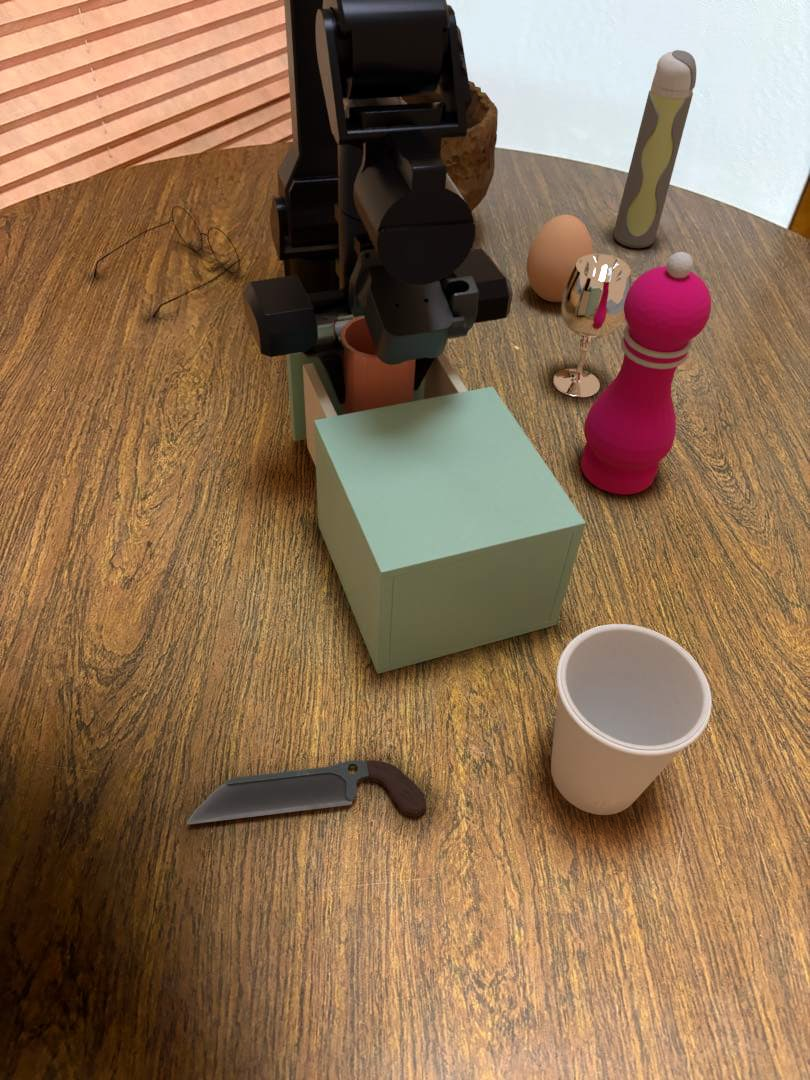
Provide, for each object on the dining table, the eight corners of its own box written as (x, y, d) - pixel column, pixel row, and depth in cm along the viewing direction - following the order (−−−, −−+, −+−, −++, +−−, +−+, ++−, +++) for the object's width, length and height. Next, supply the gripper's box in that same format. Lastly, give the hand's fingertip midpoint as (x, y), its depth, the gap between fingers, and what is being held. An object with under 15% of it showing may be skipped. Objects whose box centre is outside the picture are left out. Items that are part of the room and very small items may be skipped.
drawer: (277, 398, 76) (270, 312, 70) (408, 374, 80) (413, 290, 73) (336, 543, 65) (334, 456, 58) (487, 509, 68) (501, 422, 61)
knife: (416, 757, 54) (417, 751, 53) (427, 817, 51) (428, 812, 51) (188, 783, 52) (186, 778, 51) (187, 847, 49) (185, 842, 49)
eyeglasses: (158, 323, 85) (150, 276, 81) (87, 273, 91) (76, 228, 87) (247, 282, 91) (243, 238, 87) (175, 238, 96) (168, 195, 93)
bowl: (388, 179, 109) (392, 50, 98) (515, 227, 102) (535, 93, 91) (290, 235, 98) (282, 97, 87) (424, 292, 91) (434, 150, 80)
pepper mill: (664, 454, 75) (741, 240, 60) (653, 509, 70) (733, 290, 55) (583, 434, 76) (638, 219, 62) (566, 486, 71) (622, 267, 57)
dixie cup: (665, 848, 51) (718, 766, 43) (524, 822, 51) (553, 736, 44) (661, 726, 56) (708, 635, 49) (534, 704, 57) (561, 610, 50)
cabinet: (318, 525, 67) (313, 419, 59) (477, 490, 71) (493, 385, 63) (377, 674, 58) (380, 572, 50) (557, 625, 62) (586, 522, 54)
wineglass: (605, 406, 79) (636, 290, 70) (543, 396, 80) (566, 280, 71) (608, 370, 83) (638, 255, 74) (548, 361, 84) (571, 246, 75)
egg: (582, 285, 93) (600, 204, 87) (585, 318, 89) (604, 236, 82) (521, 279, 94) (534, 198, 87) (521, 312, 89) (534, 229, 82)
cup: (328, 413, 68) (326, 343, 63) (362, 375, 71) (363, 306, 66) (392, 436, 66) (395, 366, 61) (424, 396, 70) (429, 327, 65)
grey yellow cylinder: (613, 227, 103) (656, 43, 88) (654, 233, 102) (704, 48, 88) (611, 247, 99) (656, 59, 85) (653, 253, 99) (706, 64, 84)
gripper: (272, 287, 49) (287, 485, 60) (563, 245, 54) (526, 435, 65) (231, 199, 56) (252, 391, 67) (492, 169, 61) (470, 353, 72)
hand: (376, 394), depth 68 cm, fingers closed on cup, 6 cm apart
